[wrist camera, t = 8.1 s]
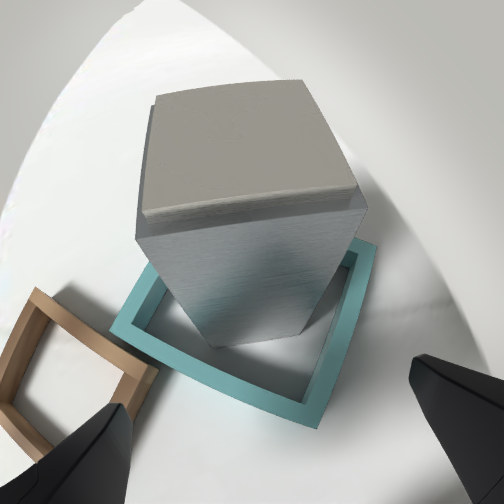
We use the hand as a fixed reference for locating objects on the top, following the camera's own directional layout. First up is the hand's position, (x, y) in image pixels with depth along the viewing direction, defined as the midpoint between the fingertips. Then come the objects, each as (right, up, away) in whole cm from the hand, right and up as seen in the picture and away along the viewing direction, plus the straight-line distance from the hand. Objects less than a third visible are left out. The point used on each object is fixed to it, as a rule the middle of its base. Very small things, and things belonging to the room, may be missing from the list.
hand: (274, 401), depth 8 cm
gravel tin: (-1, +1, +10) cm, 10 cm away
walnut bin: (-13, -5, +7) cm, 15 cm away
